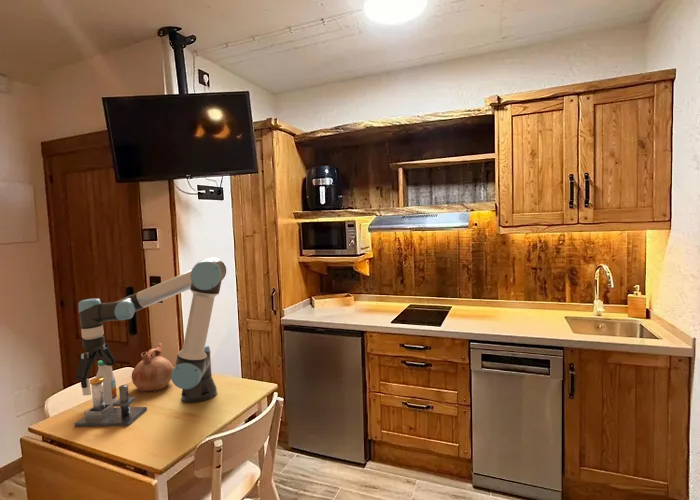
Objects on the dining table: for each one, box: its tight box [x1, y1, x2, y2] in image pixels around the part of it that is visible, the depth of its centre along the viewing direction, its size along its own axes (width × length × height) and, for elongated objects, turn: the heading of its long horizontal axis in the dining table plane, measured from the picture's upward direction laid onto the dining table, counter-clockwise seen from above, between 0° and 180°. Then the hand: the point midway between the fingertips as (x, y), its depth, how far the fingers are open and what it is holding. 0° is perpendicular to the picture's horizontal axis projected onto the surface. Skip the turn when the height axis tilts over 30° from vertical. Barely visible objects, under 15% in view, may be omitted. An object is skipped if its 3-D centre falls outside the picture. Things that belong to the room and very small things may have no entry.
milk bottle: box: [95, 359, 118, 404], centre depth 173 cm, size 8×8×20 cm
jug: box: [131, 342, 174, 394], centre depth 189 cm, size 18×18×20 cm
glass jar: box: [89, 376, 105, 411], centre depth 159 cm, size 5×5×15 cm
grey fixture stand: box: [73, 384, 148, 428], centre depth 159 cm, size 22×13×14 cm, turn 87°
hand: (98, 387), depth 159 cm, fingers open, 13 cm apart
